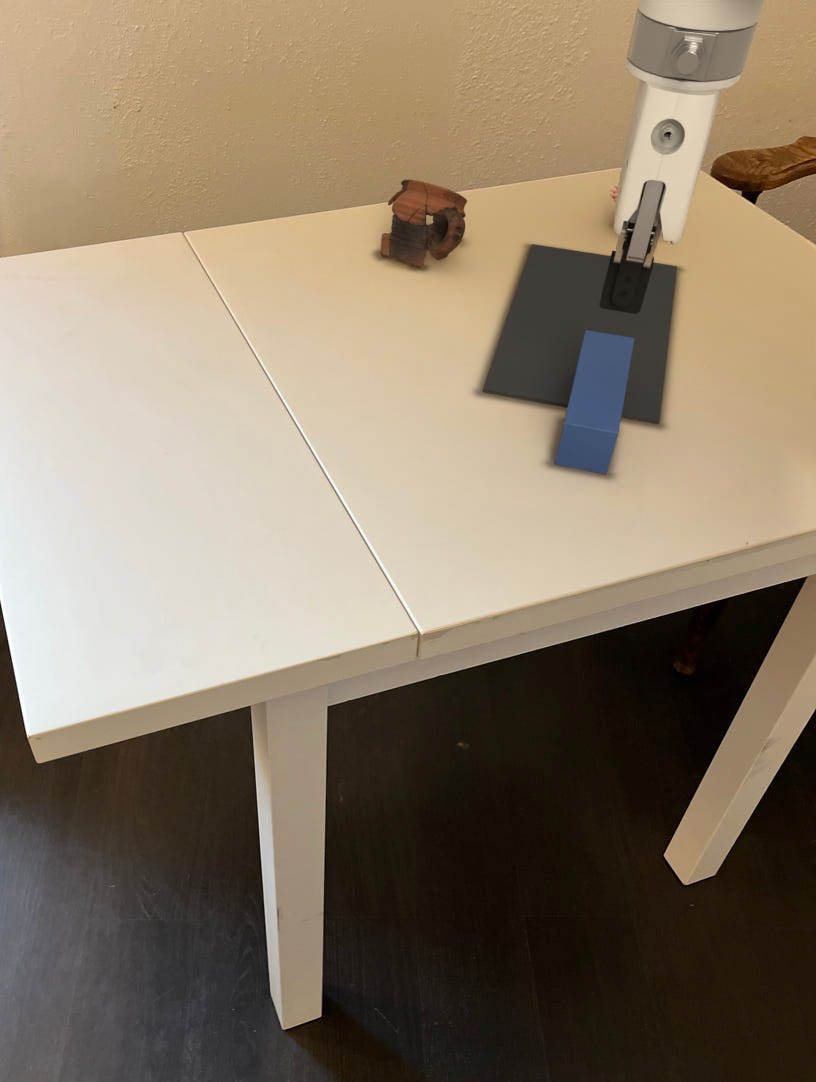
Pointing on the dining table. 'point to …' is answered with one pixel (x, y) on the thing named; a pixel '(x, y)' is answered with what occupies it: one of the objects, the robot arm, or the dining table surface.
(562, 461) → the blue post
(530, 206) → the dining table surface
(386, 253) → the brown broken pot
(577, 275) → the rubber mat
